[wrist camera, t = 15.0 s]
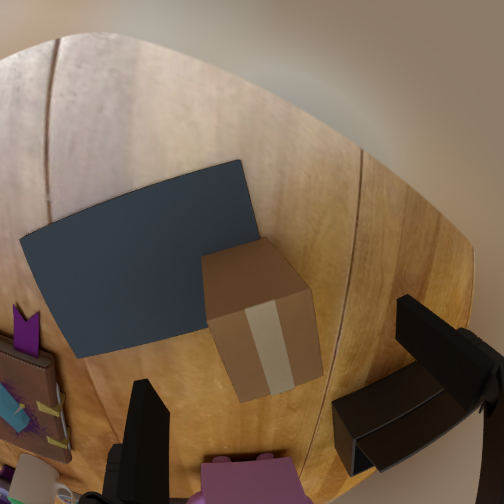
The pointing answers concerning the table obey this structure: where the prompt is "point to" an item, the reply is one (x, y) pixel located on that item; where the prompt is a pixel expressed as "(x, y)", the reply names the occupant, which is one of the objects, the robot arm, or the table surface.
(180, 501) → the picture frame
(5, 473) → the potion bottle
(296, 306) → the parcel
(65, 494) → the game controller
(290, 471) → the teapot
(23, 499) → the mug
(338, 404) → the carton
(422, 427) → the flap
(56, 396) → the book
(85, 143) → the table surface
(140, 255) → the mat
